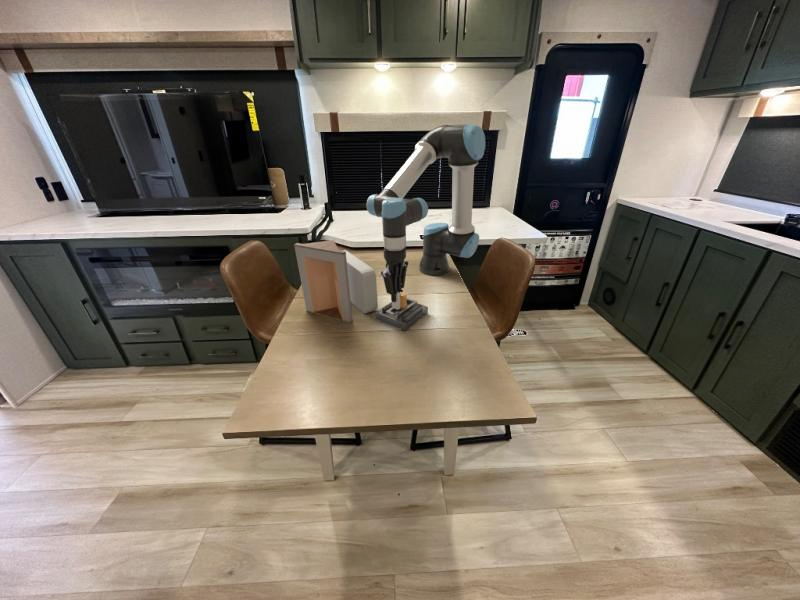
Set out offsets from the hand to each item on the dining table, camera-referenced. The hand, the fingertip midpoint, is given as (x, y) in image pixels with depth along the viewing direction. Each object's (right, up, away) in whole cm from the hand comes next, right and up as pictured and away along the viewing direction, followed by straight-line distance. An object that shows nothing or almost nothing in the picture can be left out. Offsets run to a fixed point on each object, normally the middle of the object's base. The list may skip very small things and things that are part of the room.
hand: (396, 307), depth 115 cm
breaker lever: (+2, -1, +4) cm, 5 cm away
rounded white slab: (-17, +3, +18) cm, 25 cm away
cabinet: (-24, -2, +9) cm, 26 cm away
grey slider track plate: (+3, -1, +4) cm, 5 cm away
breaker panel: (+2, -3, +5) cm, 7 cm away
